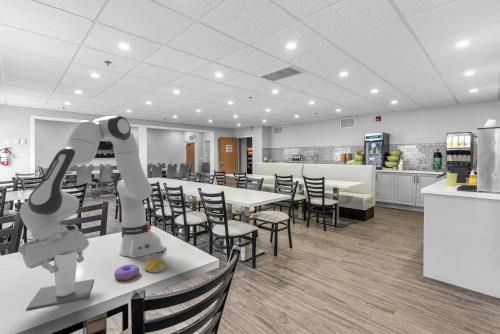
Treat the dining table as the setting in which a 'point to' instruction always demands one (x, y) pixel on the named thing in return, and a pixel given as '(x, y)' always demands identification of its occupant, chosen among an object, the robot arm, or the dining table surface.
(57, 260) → the drinking glass
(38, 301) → the rubber mat
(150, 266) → the bread roll
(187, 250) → the dining table surface
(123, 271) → the donut
